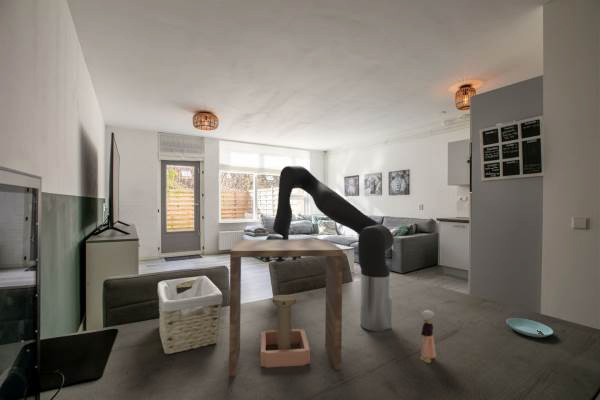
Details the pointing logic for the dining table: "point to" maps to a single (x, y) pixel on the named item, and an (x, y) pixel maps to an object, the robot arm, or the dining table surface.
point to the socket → (284, 356)
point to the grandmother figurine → (427, 337)
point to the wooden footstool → (289, 250)
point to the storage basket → (188, 313)
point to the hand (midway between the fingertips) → (281, 257)
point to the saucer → (529, 327)
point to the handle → (284, 320)
